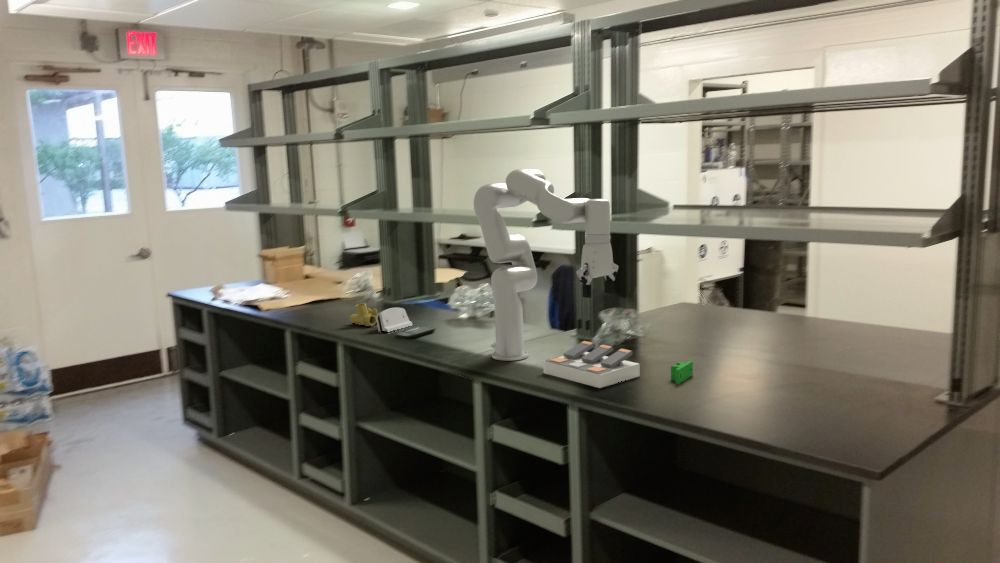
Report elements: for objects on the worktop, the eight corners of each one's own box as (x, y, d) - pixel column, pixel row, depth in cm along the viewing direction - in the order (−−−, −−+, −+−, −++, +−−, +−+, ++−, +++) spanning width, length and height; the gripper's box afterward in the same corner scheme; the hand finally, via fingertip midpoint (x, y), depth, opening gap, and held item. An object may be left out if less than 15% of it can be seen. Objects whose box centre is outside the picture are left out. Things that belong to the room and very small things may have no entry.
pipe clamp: (681, 374, 237) (681, 359, 236) (692, 375, 235) (692, 361, 234) (666, 382, 228) (667, 367, 227) (678, 384, 225) (679, 369, 225)
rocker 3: (601, 365, 232) (600, 361, 232) (622, 352, 238) (621, 348, 237) (611, 368, 229) (611, 364, 228) (632, 354, 235) (632, 350, 234)
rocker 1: (564, 357, 244) (563, 353, 244) (584, 344, 250) (584, 340, 250) (573, 359, 241) (572, 355, 241) (594, 346, 247) (593, 342, 246)
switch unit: (543, 373, 242) (543, 357, 241) (583, 362, 253) (583, 348, 252) (599, 388, 223) (599, 371, 223) (639, 376, 235) (639, 360, 234)
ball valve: (368, 330, 321) (386, 323, 328) (363, 306, 319) (382, 300, 326) (350, 328, 329) (368, 321, 336) (345, 306, 327) (363, 299, 334)
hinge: (387, 333, 309) (380, 310, 309) (379, 336, 311) (372, 313, 312) (413, 326, 322) (406, 303, 323) (405, 328, 325) (398, 306, 326)
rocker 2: (582, 361, 238) (581, 357, 238) (603, 347, 244) (602, 344, 244) (592, 363, 235) (591, 359, 234) (613, 350, 241) (612, 346, 240)
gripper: (608, 237, 240) (608, 290, 242) (568, 241, 229) (569, 297, 232) (626, 238, 234) (626, 293, 236) (586, 242, 223) (587, 300, 226)
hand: (598, 295), depth 234 cm, fingers open, 9 cm apart
